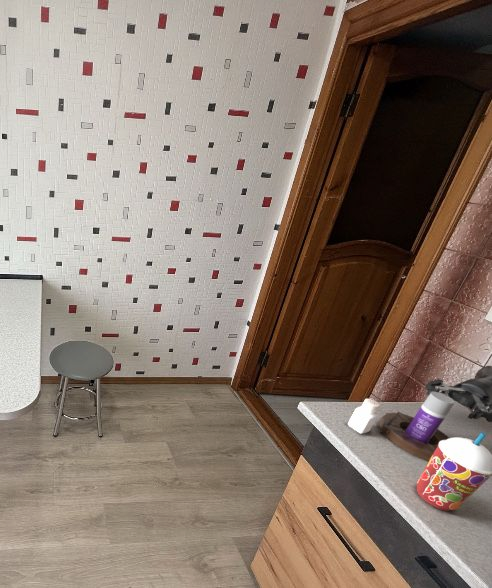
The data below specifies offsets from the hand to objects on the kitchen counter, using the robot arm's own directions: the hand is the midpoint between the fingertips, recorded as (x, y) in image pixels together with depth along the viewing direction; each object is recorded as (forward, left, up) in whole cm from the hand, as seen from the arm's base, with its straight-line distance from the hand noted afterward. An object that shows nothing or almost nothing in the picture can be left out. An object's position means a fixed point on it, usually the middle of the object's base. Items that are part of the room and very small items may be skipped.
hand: (449, 404), depth 91 cm
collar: (+2, +9, -10) cm, 14 cm away
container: (+2, +9, -10) cm, 14 cm away
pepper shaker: (+12, +19, -10) cm, 25 cm away
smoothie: (-6, +29, -10) cm, 32 cm away
